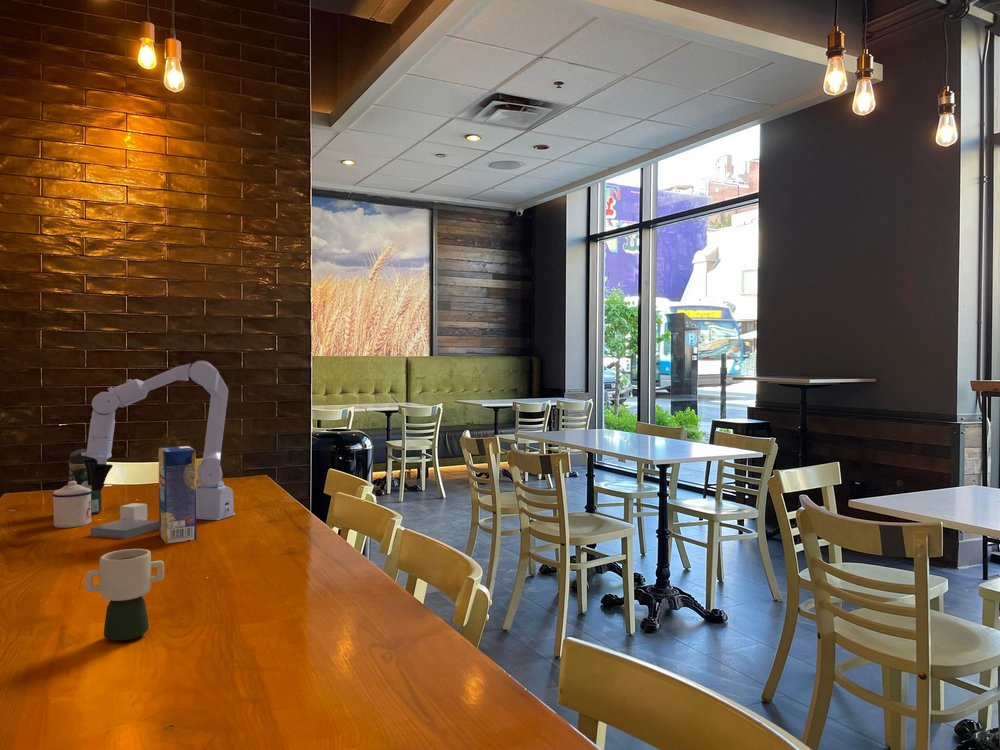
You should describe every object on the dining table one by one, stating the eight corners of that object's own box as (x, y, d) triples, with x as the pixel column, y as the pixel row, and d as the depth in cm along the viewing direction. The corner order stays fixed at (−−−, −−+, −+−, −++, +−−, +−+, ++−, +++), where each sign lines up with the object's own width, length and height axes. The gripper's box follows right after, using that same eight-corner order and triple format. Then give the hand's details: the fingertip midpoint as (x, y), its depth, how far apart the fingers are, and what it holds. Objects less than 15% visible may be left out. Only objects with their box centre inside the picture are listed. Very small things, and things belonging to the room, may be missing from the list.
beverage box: (188, 531, 181) (187, 445, 181) (196, 539, 172) (195, 450, 171) (159, 534, 177) (158, 447, 177) (166, 543, 168) (165, 452, 168)
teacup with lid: (95, 524, 189) (95, 481, 189) (56, 530, 183) (55, 485, 182) (85, 517, 198) (85, 476, 197) (47, 522, 192) (47, 480, 191)
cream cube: (147, 522, 192) (147, 503, 192) (134, 525, 188) (134, 507, 187) (133, 521, 193) (133, 503, 193) (120, 524, 189) (120, 506, 189)
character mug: (160, 622, 116) (159, 544, 116) (168, 636, 110) (167, 553, 110) (84, 637, 110) (83, 554, 109) (88, 652, 104) (87, 565, 103)
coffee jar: (67, 512, 205) (67, 448, 205) (98, 508, 210) (98, 446, 210) (71, 517, 198) (71, 452, 197) (103, 514, 202) (103, 449, 202)
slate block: (159, 530, 184) (159, 521, 184) (125, 540, 173) (125, 530, 173) (125, 527, 187) (125, 518, 187) (90, 537, 176) (90, 527, 176)
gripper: (80, 433, 190) (73, 483, 190) (87, 439, 179) (80, 492, 178) (109, 434, 194) (103, 483, 194) (118, 440, 183) (111, 492, 182)
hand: (94, 487), depth 186 cm, fingers open, 7 cm apart
